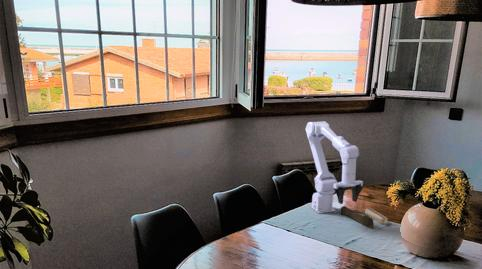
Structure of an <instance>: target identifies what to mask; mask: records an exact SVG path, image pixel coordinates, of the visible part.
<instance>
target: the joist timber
mask: <svg viewBox="0 0 482 269" xmlns="http://www.w3.org/2000/svg"><path fill="white" fill-rule="evenodd" d="M364 215H366V216H369V217H370V218H372V219H373V221H376V222H377V223H379V224H381V225H386V224H388V217H386V216H385V215H383V214H382V213H379V212H378V211H376V210H375V209H373V208H371V207H368V208H367V207H366V208H365V211H364Z"/></svg>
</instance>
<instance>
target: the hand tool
mask: <svg viewBox="0 0 482 269" xmlns="http://www.w3.org/2000/svg"><path fill="white" fill-rule="evenodd" d="M339 212H340V214H342V215H344V216H347V217H349V218H351V219H352V220H355V221H356V222H358V223H360V224H361V226H364V227H366V228H368V229H372V230H373V229H374V227H375V225H374V224H375V223H374V219H373V218H371V217H370V216H368V215H367V214H360V213H358V212H357V211H354V210H353V209H350V208H349V207H347V206H346V205H343V206H341V207H340V209H339Z"/></svg>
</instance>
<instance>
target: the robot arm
mask: <svg viewBox="0 0 482 269" xmlns="http://www.w3.org/2000/svg"><path fill="white" fill-rule="evenodd" d="M305 132H306V136H307V140H308V143H309V147H310V150H311V153H312V157H313V160H314V165H315V169H316V171H317V175H316V176H315V177H314V188H315V190H316V192H313V194H312V196H311V197H312V198H311V207H310V208H311V209H313V210H314V211H315V212H316V213H318V214H324V213H325V212H326V213H333V212H336V209H334V208H333V205H334V204H333V201H334V194H336V197H337V201H338V203H339V204H340V205H343V204H344V195H345V192H346V189H344V188H350V187H351V193H352V194H351V195H352V196H351V200H352V202H354V203H357V201H358V198H359V195H360V194H361V192H362V190H363V186H364V185H363V184H364V181H363V180H356V171H357V158H359V156H360V149H359V148H358V147H357V145H355V144H354V145H352V144H351V143H350V142H348V141H347V140H346V139H344V136H340V135H339V136H338V135H337V134H336V133H335V132H334V131H333V129H331V128H330V124H329V123H327V121H325V120H324V121H309V122H307V123H306V126H305ZM324 138H326V139H328V140H329V141H330V142H331V144H332V147H333V148H334V149H335V150H337V152H339V156H340V157H341V163H342V168H341V169H342V170H341V181H339V182H338V181H337V179H336V177H335V175H334V174H333V173H332V172H330V171H329V167H328V163H327V161H326V160H327V159H326V157H325V153H324V149H323V146H322V143H321V141H322V140H323V139H324ZM326 213H325V214H326Z"/></svg>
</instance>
